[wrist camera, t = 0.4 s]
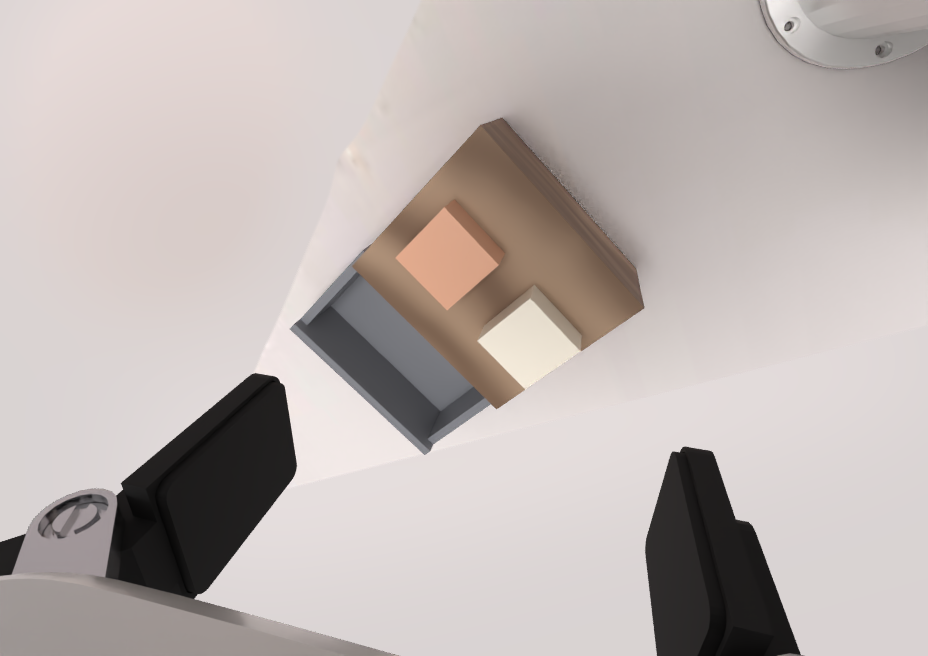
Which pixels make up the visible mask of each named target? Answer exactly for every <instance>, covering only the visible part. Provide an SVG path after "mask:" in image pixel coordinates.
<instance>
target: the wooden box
mask: <svg viewBox="0 0 928 656" xmlns="http://www.w3.org/2000/svg"><path fill="white" fill-rule="evenodd" d="M454 199H455V200H456V201H457V203H458V204H459V205H460V206H461V207H462V208H463V209H464V210H465V211H466V212H467V213H468V214H469V215H470V216H471V217H472V219H473V220H474V221H475V222H476V223H477V224H478V225H479V226H480V227H481V228H482V229H483V230H484V231H485V232H486V233H487V235H488V236H489V237H490V238H491V239H492V240H493V241H494V242H495V243H496V244H497V245H498V246H499V247H500V248H501V249H502V251H503V252H504V253H505V255H504V257H503V258H502V260H501V262H500V264H499V265H498V266H497V267H496V268H495V269H494V270H493V271H492V272H490V273H489V274H488V275H487V276H486V277H485V278H484V279H482V280H481V281H480V282H479V283H478V284H477V285H476V286H474V287H473V288H472V289H471V290H470V291H469V292H468V293H466V294H465V295H464V296H463V297H462V298H461V299H460V300H459V301H457V302H456V303H455V304H454V305H453V306H452V307H451V308H449V309H448V310H446V309H445V308H444V307H443V306H442V305H441V304H440V303H439V302H438V301H437V300H436V299H435V298H434V297H433V296H432V295H431V294H430V293H429V292H428V291H427V290H426V289H425V288H424V287H423V286H422V285H421V284H420V283H419V282H418V281H417V280H416V279H415V278H414V276H413V275H412V274H411V273H410V272H409V271H408V270H407V269H406V268H405V267H404V266H403V265H402V264H401V263H400V262H399V261H398V260H397V259H396V257H397V256H398V254H399V253H400V252H401V251H402V250H403V249H404V248H405V247H406V246H407V245H408V244H409V243H410V242H411V241H412V240H413V239H414V238H415V237H416V236H417V235H418V234H419V233H420V232H421V231H422V230H423V229H424V228H425V227H426V226H427V225H428V224H429V222H430V221H431V220H432V219H433V218H434V217H435V216H436V215H437V214H438V213H439V212H440V211H441V210H442V209H443V208H444V207H445V206H446V205H448V204H449V203H450V202H452V201H453V200H454ZM352 267H353V268H354V269H355V270H356V271H357V272H358V273H359V274H360V275H361V276H362V277H363V278H364V279H365V280H366V281H367V282H368V283H369V284H370V285H371V286H372V287H373V288H374V289H375V290H376V291H377V292H378V293H379V294H380V295H381V296H382V297H383V298H384V299H385V300H386V301H387V302H388V303H389V304H390V305H391V306H392V307H393V308H394V309H395V310H396V311H397V312H398V313H399V314H400V315H401V316H402V317H403V318H404V319H405V320H406V321H407V322H409V323H410V324H411V325H412V326H413V327H414V328H415V329H416V330H417V331H418V332H419V333H420V334H421V335H422V336H423V337H424V338H425V339H426V340H427V341H428V342H429V343H430V344H431V345H432V346H433V347H434V348H435V349H436V350H437V351H438V352H439V353H440V354H441V355H442V356H443V357H444V358H445V359H446V360H447V361H448V362H449V363H450V364H451V365H452V366H453V367H454V368H455V369H456V370H457V371H458V372H459V373H460V374H461V375H462V376H463V377H464V378H465V379H466V380H467V381H468V382H469V383H470V384H471V385H472V386H473V387H474V388H475V389H476V390H477V391H478V392H479V393H480V394H481V395H482V396H483V397H484V398H485V399H486V400H487V401H488V402H490V403H491V404H492V405H493V406H494V407H495V408H496V409H498V408H499V407H501V406H502V405H504V404H505V403H507V402H508V401H509V400H511V399H512V398H514V397H515V396H517V395H518V394H520V393H521V392H523V391H524V390H525V389H524V388H523V387H522V386H521V385H520V384H519V383H518V382H517V381H516V380H515V379H514V378H513V377H512V376H511V375H510V374H509V373H508V372H507V371H506V370H505V369H504V368H503V366H502V365H501V364H500V363H499V362H498V361H497V360H496V359H495V358H494V357H493V356H492V355H491V354H490V353H489V352H488V351H487V350H486V349H485V348H484V347H483V346H482V345H481V344H480V343H479V342H478V341H477V340H478V338H479V336H480V334H481V332H482V329H483V327H484V325H486V324H487V323H488V322H489V321H491V320H492V319H493V318H494V317H495V316H497V315H498V314H499V313H500V312H502V311H503V310H504V309H505V308H507V307H508V306H509V305H510V304H511V303H513V302H514V301H515V300H516V299H518V298H519V297H520V296H521V295H523V294H524V293H525V292H526V291H527V290H529V289H530V288H531V287H532V286H534V285H535V286H536V287H537V288H538V289H539V290H540V291H541V292H542V293H543V294H544V295H545V296H546V298H547V299H548V300H549V301H550V302H551V303H552V304H553V305H554V306H555V307H556V308H557V309H558V310H559V311H560V312H561V314H562V315H563V316H564V317H565V318H566V319H567V320H568V321H569V322H570V323H571V324H572V325H573V326H574V327H575V328H576V330H577V331H578V332H579V333H580V334H581V335H582V337H581V351H582V350H584V349H585V348H587V347H588V346H590V345H591V344H593V343H594V342H595V341H597V340H598V339H600V338H601V337H603V336H604V335H606V334H607V333H609V332H610V331H612V330H613V329H614V328H616V327H617V326H619V325H620V324H622V323H623V322H625V321H626V320H628V319H629V318H631V317H632V316H633V315H635V314H636V313H638V312H639V311H641V310H642V309H644V304H643V299H642V295H641V290H640V285H639V281H638V276H637V271H636V268H635V267H634V266H633V265H632V264H631V263H630V262H629V261H628V259H627V258H626V257H625V256H624V255H623V254H622V253H621V251H620V250H619V249H618V248H617V247H616V246H615V245H614V244H613V242H612V241H611V240H610V239H609V238H608V237H607V236H606V235H605V233H604V232H603V231H602V230H601V229H600V228H599V227H598V225H597V224H596V223H595V222H594V221H593V220H592V219H591V218H590V216H589V215H588V214H587V213H586V212H585V211H584V210H583V208H582V207H581V206H580V205H579V204H578V203H577V202H576V201H575V199H574V198H573V197H572V196H571V195H570V194H569V193H568V192H567V190H566V189H565V188H564V187H563V186H562V185H561V184H560V182H559V181H558V180H557V179H556V178H555V177H554V176H553V175H552V173H551V172H550V171H549V170H548V169H547V168H546V167H545V166H544V164H543V163H542V162H541V161H540V160H539V159H538V158H537V156H536V155H535V154H534V153H533V152H532V151H531V150H530V149H529V147H528V146H527V145H526V144H525V143H524V142H523V141H522V139H521V138H520V137H519V136H518V135H517V134H516V133H515V132H514V130H513V129H512V128H511V127H510V126H509V125H508V124H507V123H506V121H505V120H504V119H503V118H500V119H497V120H494V121H491V122H488V123H485V124H482V125H480V126H479V127H478V128H477V130H476V131H475V132H474V133H473V134H472V135H471V136H470V137H469V138H468V139H467V140H466V142H465V143H464V144H463V145H462V146H461V147H460V148H459V149H458V150H457V151H456V153H455V154H454V155H453V156H452V157H451V158H450V159H449V160H448V161H447V162H446V163H445V165H444V166H443V167H442V168H441V169H440V170H439V171H438V172H437V173H436V174H435V176H434V177H433V178H432V179H431V180H430V181H429V182H428V183H427V184H426V185H425V186H424V188H423V189H422V190H421V191H420V192H419V193H418V194H417V195H416V196H415V197H414V199H413V200H412V201H411V202H410V203H409V204H408V205H407V206H406V207H405V208H404V209H403V211H402V212H401V213H400V214H399V215H398V216H397V217H396V218H395V219H394V220H393V222H392V223H391V224H390V225H389V226H388V227H387V228H386V229H385V230H384V231H383V232H382V234H381V235H380V236H379V237H378V238H377V239H376V240H375V241H374V242H373V243H372V245H371V246H370V247H369V248H368V249H367V250H366V251H365V252H364V253H363V254H362V255H361V257H360V258H359V259H358V260H357V261H356V262H355V263H354V264H353V265H352ZM576 355H577V354H576ZM557 368H558V367H557ZM541 379H542V378H541Z"/></svg>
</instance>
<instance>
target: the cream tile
mask: <svg viewBox="0 0 928 656" xmlns="http://www.w3.org/2000/svg"><path fill="white" fill-rule="evenodd" d="M581 337H582V335H581V334H580V333H579V332H578V331H577V330H576V328H575V327H574V326H573V325H572V324H571V323H570V322H569V321H568V320H567V319H566V318H565V317H564V316H563V315H562V314H561V312H560V311H559V310H558V309H557V308H556V307H555V306H554V305H553V304H552V303H551V302H550V301H549V300H548V299H547V298H546V296H545V295H544V294H543V293H542V292H541V291H540V290H539V289H538V288H537V287H536V286H535V285H534V286H532V287H531V288H530V289H529V290H527V291H526V292H525V293H524V294H523V295H521V296H520V297H519V298H518V299H516V300H515V301H514V302H513V303H511V304H510V305H509V306H508V307H507V308H505V309H504V310H503V311H502V312H500V313H499V314H498V315H497V316H495V317H494V318H493V319H492V320H491V321H489V322H488V323H487V324H486V325H484V327H483V329H482V332H481V334H480V336H479V338H478V340H477V341H478V342H479V343H480V344H481V345H482V346H483V347H484V348H485V349H486V350H487V351H488V352H489V353H490V354H491V355H492V356H493V357H494V358H495V359H496V360H497V361H498V362H499V363H500V364H501V365H502V366H503V368H504V369H505V370H506V371H507V372H508V373H509V374H510V375H511V376H512V377H513V378H514V379H515V380H516V381H517V382H518V383H519V384H520V385H521V386H522V387H523V388H524V389H527V388H528V387H530V386H531V385H533V384H534V383H536V382H537V381H539V380H540V379H541V378H543V377H544V376H546V375H547V374H549V373H550V372H552V371H553V370H555V369H556V368H557V367H559V366H560V365H562V364H563V363H565V362H566V361H568V360H569V359H571V358H572V357H574V356H575V355H576V354H578V353H579V352H581Z"/></svg>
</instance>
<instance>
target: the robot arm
mask: <svg viewBox="0 0 928 656" xmlns="http://www.w3.org/2000/svg"><path fill="white" fill-rule="evenodd" d="M760 5H761V9H762V12H763V15H764V17H765V20H766V23H767V26H768V27H769V29H770V30H771V32H772V33H773V35H774V36H775V38H776V39H777V41H778V42H779V43H780V44H781V45H782V46H783V47H784V48H786V49H787V50H788V51H789V52H790V53H791V54H793V55H794V56H796V57H798V58H800V59H802V60H804V61H805V62H807V63H811V64H814V65H818V66H822V67H825V68H839V69H853V68H865V67H871V66H876V65H881V64H885V63H888V62H891V61H894V60H896V59H899V58H901V57H904V56H907V55H909V54H912V53H914V52H916V51H918V50H919V49H921V48H923V47H925V46H927V45H928V0H760ZM787 22H790V23H791V25H792V26H791V29H790V30H789V31H786V30H785V29H784V26H785V24H786V23H787ZM877 46H880V47H881V52H880V53H879V54H878V55H876V53H875V51H876V48H877ZM296 468H297V463H296V456H295V450H294V443H293V437H292V430H291V424H290V418H289V411H288V405H287V398H286V392H285V387H284V385H283V384H281V383H280V381H279V379H278V378H277V377H275V376H269V375H263V374H257V373H255V374H252V375H250V376H249V377H248V378H246V379H245V380H244V381H243V382H242V383H240V384H239V385H238V386H237V387H236V388H234V389H233V390H232V391H231V392H230V393H228V394H227V395H226V396H225V397H224V398H222V399H221V400H220V401H219V402H218V403H216V404H215V405H214V406H213V407H212V408H211V409H209V410H208V411H207V412H206V413H204V414H203V415H202V416H201V417H200V418H198V419H197V420H196V421H195V422H194V423H192V424H191V425H190V426H189V427H188V428H186V429H185V430H184V431H183V432H182V433H180V434H179V435H178V436H177V437H176V438H175V439H173V440H172V441H171V442H170V443H168V444H167V445H166V446H165V447H164V448H162V449H161V450H160V451H159V452H158V453H156V454H155V455H154V456H153V457H152V458H150V459H149V460H148V461H147V462H146V463H145V464H144V465H142V466H141V467H140V468H138V469H137V470H136V471H135V472H134V473H133V474H131V475H130V476H129V477H128V478H126V479H125V480H124V481H123V482H122V483H121V485H122V487H123V490H122V491H121V492H120V493H119V494H118V495H116V496H115V494H114V493H113V492H112V491H108V490H105V489H87V490H82V491H78V492H76V493H72V494H69V495H67V496H65V497H63V498H61V499H59V500H57V501H55V502H53V503H52V504H50V505H49V506H47V507H46V508H44V509H43V510H42V511H41V512H40V513H39V514H38V515H37V516H36V517H35V518H34V519H33V520H32V522H31V524H30V526H29V527H28V531H27V533H26V534H24V535H21V536H18V537H15V538H12V539H8V540H5V541H2V542H0V656H398V655H395V654H391V653H387V652H384V651H380V650H376V649H373V648H370V647H366V646H362V645H359V644H355V643H352V642H348V641H344V640H341V639H337V638H334V637H330V636H326V635H323V634H319V633H315V632H312V631H308V630H305V629H301V628H297V627H294V626H290V625H287V624H283V623H280V622H276V621H272V620H268V619H265V618H261V617H258V616H254V615H250V614H246V613H243V612H239V611H235V610H232V609H228V608H225V607H221V606H217V605H213V604H210V603H206V602H202V601H199V600H195V599H194V598H195V597H196V596H197V594H202V593H203V592H205V591H206V590H207V589H208V588H209V587H210V585H211V584H212V583H213V581H214V580H215V579H216V578H217V576H218V575H219V574H220V572H221V571H222V570H223V568H224V567H225V566H226V565H227V563H228V562H229V561H230V559H231V558H232V557H233V556H234V554H235V553H236V552H237V550H238V549H239V548H240V546H241V545H242V544H243V542H244V541H245V540H246V539H247V537H248V536H249V535H250V533H251V532H252V531H253V530H254V528H255V527H256V526H257V524H258V523H259V522H260V520H261V519H262V518H263V517H264V515H265V514H266V513H267V511H268V510H269V509H270V508H271V506H272V505H273V504H274V502H275V501H276V499H277V498H278V497H279V496H280V495H281V493H282V492H283V491H284V489H285V488H286V487H287V485H288V484H289V483H290V482H291V480H292V479H293V477H294V475H295V472H296ZM645 553H646V563H647V572H648V581H649V589H650V598H651V606H652V616H653V624H654V633H655V641H656V650H657V656H803V655H801V654H800V651H799V649H798V646H797V643H796V640H795V638H794V635H793V632H792V630H791V627H790V624H789V622H788V619H787V616H786V613H785V611H784V608H783V605H782V603H781V600H780V597H779V594H778V592H777V589H776V586H775V584H774V581H773V578H772V575H771V573H770V570H769V568H768V565H767V562H766V559H765V556H764V554H763V551H762V548H761V546H760V543H759V540H758V537H757V535H756V532H755V530H754V528H753V526H752V525H751V524H750V523H749V522H745V521H740V520H736V519H735V516H734V513H733V510H732V507H731V504H730V501H729V498H728V495H727V492H726V489H725V486H724V483H723V480H722V477H721V474H720V471H719V468H718V465H717V462H716V459H715V456H714V454H713V452H711V451H708V450H702V449H695V448H689V447H683V448H682V449H681V451H680V453H679V452H672V453H671V456H670V459H669V463H668V466H667V469H666V472H665V476H664V480H663V483H662V486H661V490H660V493H659V497H658V500H657V504H656V507H655V511H654V514H653V518H652V521H651V524H650V528H649V531H648V534H647V538H646V547H645Z"/></svg>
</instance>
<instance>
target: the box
mask: <svg viewBox="0 0 928 656" xmlns="http://www.w3.org/2000/svg"><path fill="white" fill-rule="evenodd" d="M371 245H372V244H371ZM371 245H370V246H371ZM370 246H368V247H367V248H366V249H364V250H363V251H362V252H361V253H360V254H359V255H358V256H357V257H356V259H355V260H354V261H353V262H352V263H351V264H350V265H349V266H348V267H347V268H346V270H345V271H344V272H343V273H342V274H341V275H340V276H339V277H338V278H337V279H336V281H335V282H334V283H333V284H332V285H331V286H330V287H329V288H328V289H327V290H326V292H325V293H324V294H323V295H322V296H321V297H320V298H319V299H318V300H317V301H316V303H315V304H314V305H313V306H312V307H311V308H310V309H309V310H308V311H307V312H306V314H305V315H304V316H303V317H302V318H301V319H300V320H299V321H297V322H296V323H295V324H294V325H293V326H292V327H291V328H290V330H291V331H292V332H293V333H295V334H296V335H297V336H298V337H299V338H300V339H301V340H302V341H303V342H304V343H305V344H306V345H307V346H308V347H310V348H311V349H312V350H313V351H314V352H315V353H316V354H317V355H318V356H319V357H320V358H321V359H322V360H323V361H325V362H326V363H327V364H328V365H329V366H330V367H331V368H332V369H333V370H334V371H335V372H336V373H337V374H338V375H340V376H341V377H342V378H343V379H344V380H345V381H346V382H347V383H348V384H349V385H350V386H351V387H352V388H353V389H355V390H356V391H357V392H358V393H359V394H360V395H361V396H362V397H363V398H364V399H365V400H366V401H367V402H368V403H370V404H371V405H372V406H373V407H374V408H375V409H376V410H377V411H378V412H379V413H380V414H381V415H382V416H383V417H385V418H386V419H387V420H388V421H389V422H390V423H391V424H392V425H393V426H394V427H395V428H396V429H397V430H398V431H400V432H401V433H402V434H403V435H404V436H405V437H406V438H407V439H408V440H409V441H410V442H411V443H412V444H413V445H415V446H416V447H417V448H418V449H419V450H420V451H421V452H422V453H423V454H424V455H425V454H427V453H428V452H430V450H431V448H432V446H433V444H435V443H436V442H437V441H439V440H440V439H442V438H443V437H445V436H446V435H447V434H449V433H450V432H452V431H453V430H455V429H456V428H457V427H459V426H460V425H462V424H463V423H465V422H466V421H468V420H469V419H470V418H472V417H473V416H475V415H476V414H478V413H479V412H480V411H482V410H483V409H485V408H486V407H488V406H489V405H490V404H491V403H490V402H488V401H487V400H486V399H485V398H484V397H483V396H482V395H481V394H480V393H479V392H478V391H477V390H476V389H475V388H474V387H473V386H472V385H471V384H470V383H469V382H468V381H467V380H466V379H465V378H464V377H463V376H462V375H461V374H460V373H459V372H458V371H457V370H456V369H455V368H454V367H453V366H452V365H451V364H450V363H449V362H448V361H447V360H446V359H445V358H444V357H443V356H442V355H441V354H440V353H439V352H438V351H437V350H436V349H435V348H434V347H433V346H432V345H431V344H430V343H429V342H428V341H427V340H426V339H425V338H424V337H423V336H422V335H421V334H420V333H419V332H418V331H417V330H416V329H415V328H414V327H413V326H412V325H411V324H410V323H409V322H407V321H406V320H405V319H404V318H403V317H402V316H401V315H400V314H399V313H398V312H397V311H396V310H395V309H394V308H393V307H392V306H391V305H390V304H389V303H388V302H387V301H386V300H385V299H384V298H383V297H382V296H381V295H380V294H379V293H378V292H377V291H376V290H375V289H374V288H373V287H372V286H371V285H370V284H369V283H368V282H367V281H366V280H365V279H364V278H363V277H362V276H361V275H360V274H359V273H358V272H357V271H356V270H355V269H354V268H353V267H352V265H353V264H354V263H355V262H356V261H357V260H358V259H359V258H360V257H361V255H362V254H363V253H364V252H365V251H366V250H367V249H368V248H369V247H370Z"/></svg>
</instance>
